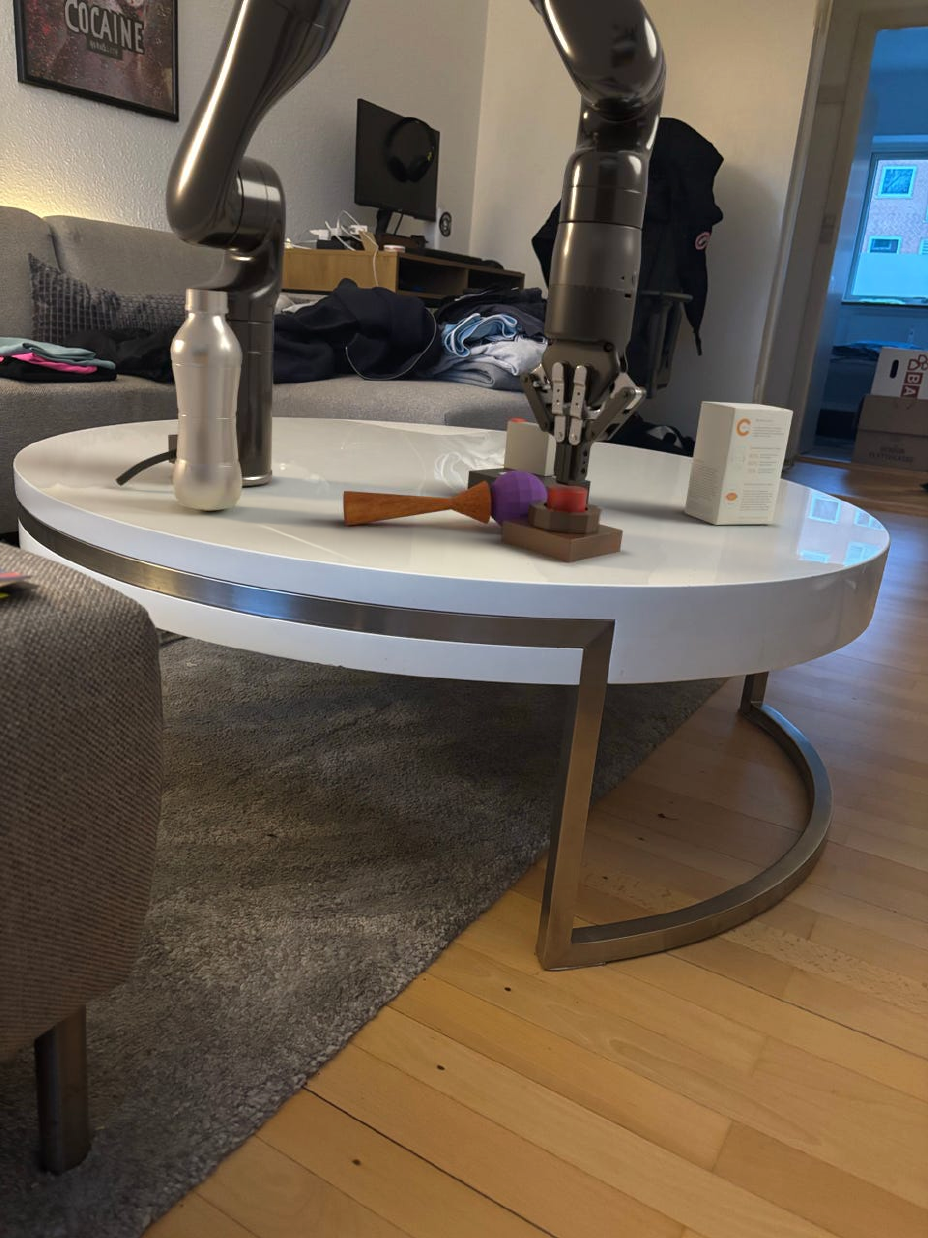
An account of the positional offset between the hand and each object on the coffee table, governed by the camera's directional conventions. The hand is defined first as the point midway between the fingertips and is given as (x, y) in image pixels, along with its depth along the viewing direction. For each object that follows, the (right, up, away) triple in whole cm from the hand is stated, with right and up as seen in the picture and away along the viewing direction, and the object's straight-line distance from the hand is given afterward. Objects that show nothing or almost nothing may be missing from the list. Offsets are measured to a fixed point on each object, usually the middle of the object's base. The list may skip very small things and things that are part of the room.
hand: (569, 484), depth 84 cm
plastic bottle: (-34, -2, +5) cm, 35 cm away
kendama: (-11, -4, +6) cm, 13 cm away
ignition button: (0, -2, +1) cm, 2 cm away
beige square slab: (-2, +5, +24) cm, 24 cm away
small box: (+21, -1, +22) cm, 31 cm away
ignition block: (-1, -6, +2) cm, 6 cm away
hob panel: (-2, +2, +23) cm, 24 cm away
